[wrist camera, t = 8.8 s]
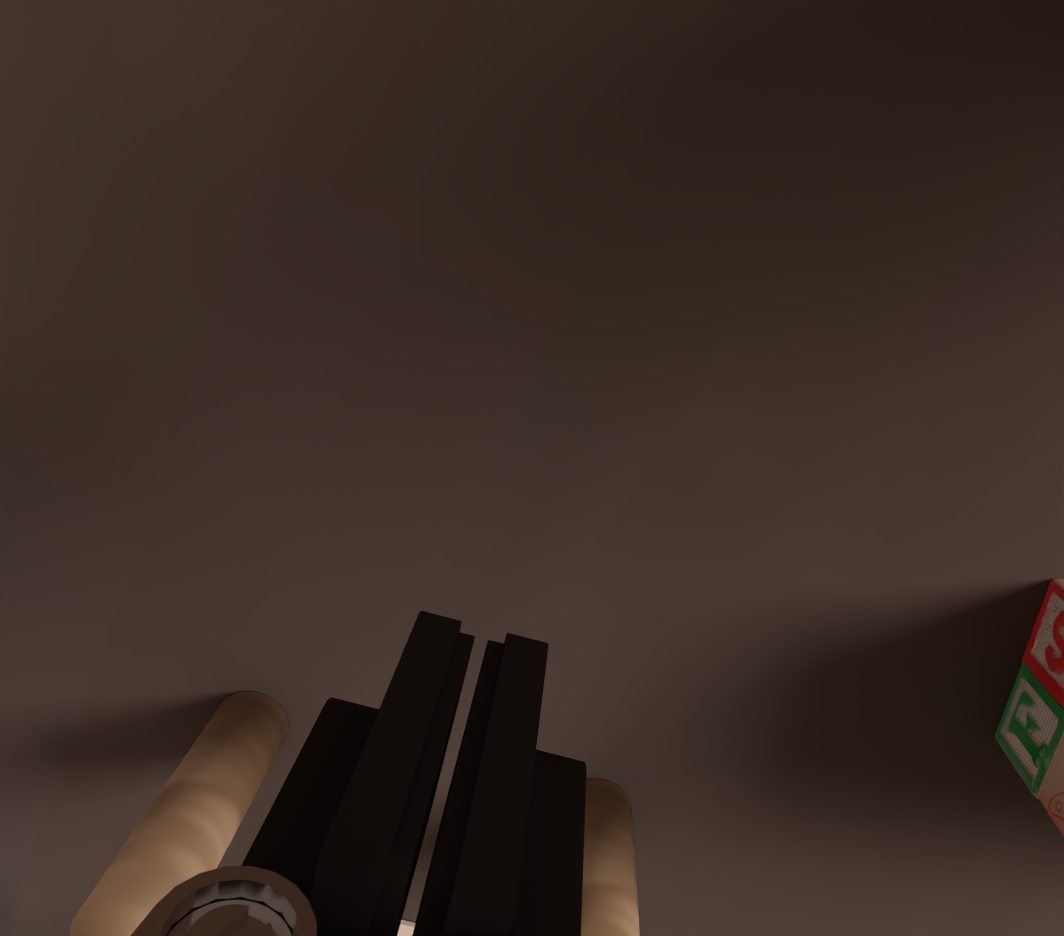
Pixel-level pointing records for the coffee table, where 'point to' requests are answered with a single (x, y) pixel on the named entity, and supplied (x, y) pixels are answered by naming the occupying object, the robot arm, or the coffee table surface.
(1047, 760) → the stack of blocks
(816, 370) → the coffee table surface
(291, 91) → the coffee table surface
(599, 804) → the post
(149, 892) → the post
